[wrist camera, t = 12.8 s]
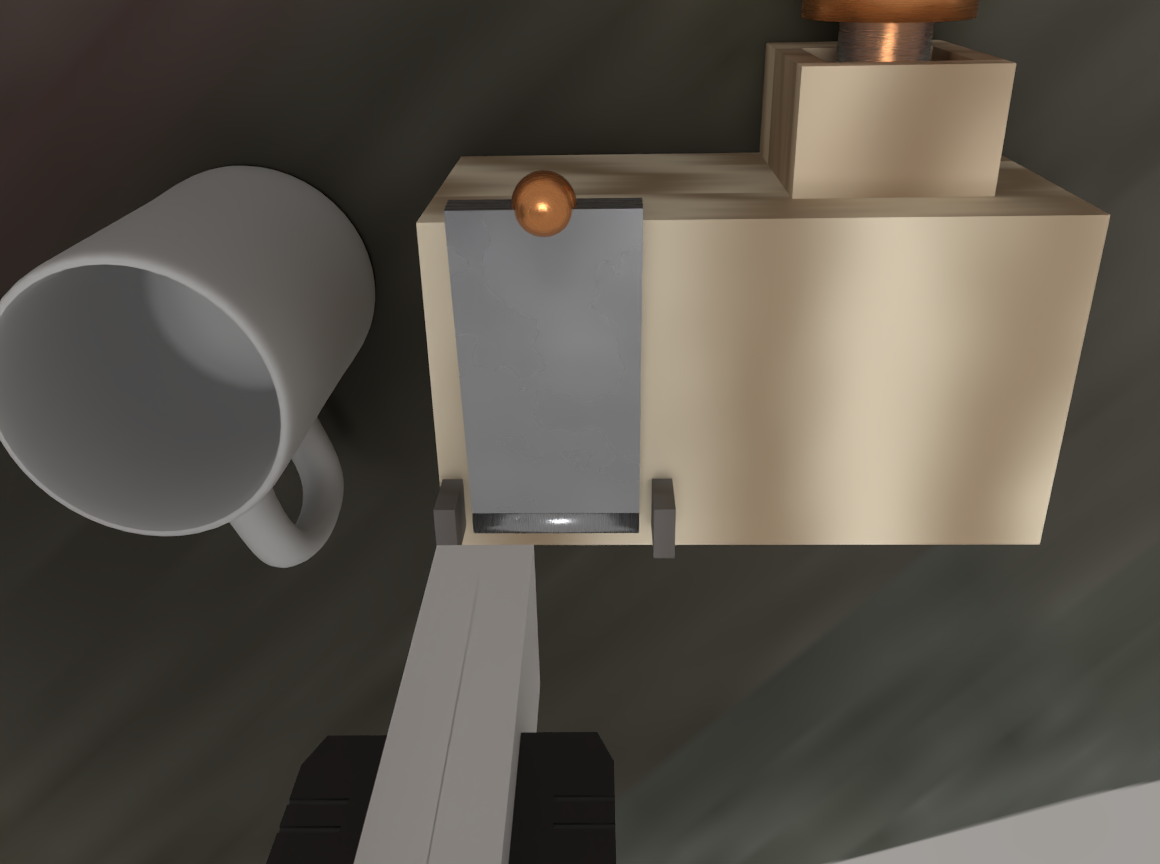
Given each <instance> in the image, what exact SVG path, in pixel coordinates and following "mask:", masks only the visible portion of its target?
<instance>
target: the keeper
mask: <svg viewBox="0 0 1160 864" xmlns="http://www.w3.org/2000/svg"><path fill="white" fill-rule="evenodd" d="M444 221H445V231H446V242H447V252H448V263H449V273H450V284H451V295H452V305H453V316H454V326H455V337H456V348H457V358H458V369H459V379H460V390H461V400H462V411H463V422H464V432H465V443H466V453H467V464H468V475H469V485H470V496H471V506H472V521H473V531H474V533H639V498H640V420H641V342H642V264H643V200H642V198H576V195H575V192H574V189H573V188H572V186H571V184H570V183H569V182H568V181H567V180H566V179H565V178H564V177H563V176H561V175H560V174H558V173H556V172H552V171H548V170H540V171H535V172H532V173H530V174H528V175H526V176H525V177H523V178H522V179H521V180H520V181H519V182H518V184H517V185H516V187H515V189H514V191H513V194H512V199H486V200H448V201H447V204H446V206H445V209H444Z"/></svg>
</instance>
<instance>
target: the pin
mask: <svg viewBox="0 0 1160 864" xmlns="http://www.w3.org/2000/svg"><path fill="white" fill-rule="evenodd" d="M978 3H979V0H802V8H801V18H804V19H810V20H819V21H833V22H839V33H838V45H837V56H836V63H841V62H904V61H929V60H930V52H931V44H932V36H933V28H934V22H944V21H958V20H967V19H973V18H976V17H977V10H978Z"/></svg>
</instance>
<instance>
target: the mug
mask: <svg viewBox="0 0 1160 864" xmlns="http://www.w3.org/2000/svg"><path fill="white" fill-rule="evenodd" d="M374 307H375V282H374V275H373V269H372V266H371V262H370V259H369V255H368V253H367V251H366V248H365V246H364V244H363V241H362V239H361V238H360V236H359V234H358V233H357V231H356V229H355V228H354V226H353V225H352V223H351V222H350V221H349V219H348V218H347V217H346V216H345V214H344V213H343V212H342V211H341V210H340V209H339V208H338V207H337V206H336V205H335V204H334V203H333V202H332V201H331V200H330V199H328V198H327V197H326V196H325V195H324V194H322V193H321V192H320V191H318V190H317V189H315V188H314V187H312V186H310V185H309V184H307V183H306V182H304V181H301V180H299V179H297V178H295V177H293V176H291V175H288V174H285V173H282V172H279V171H276V170H272V169H267V168H262V167H254V166H225V167H220V168H215V169H210V170H208V171H205V172H202V173H199V174H196V175H194V176H192V177H190V178H188V179H186V180H184V181H182V182H180V183H178V184H177V185H175V186H173V187H172V188H170V189H169V190H167V191H166V192H164V193H163V194H161V195H160V196H158V197H157V198H155V199H153V200H152V201H150V202H149V203H147V204H145V205H144V206H142V207H140V208H138V209H137V210H135V211H133V212H131V213H130V214H128V215H126V216H124V217H123V218H121V219H119V220H118V221H116V222H114V223H112V224H111V225H109V226H107V227H105V228H104V229H102V230H100V231H98V232H97V233H95V234H93V235H91V236H90V237H88V238H86V239H84V240H83V241H81V242H79V243H77V244H76V245H74V246H72V247H70V248H69V249H67V250H65V251H63V252H62V253H60V254H58V255H56V256H55V257H53V258H51V259H50V260H48V261H46V262H44V263H43V264H41V265H39V266H38V267H36V268H35V269H33V270H32V271H31V272H29V273H28V274H27V275H25V276H24V277H23V278H21V279H20V280H19V281H18V282H16V283H15V284H14V286H13V287H12V288H11V289H10V290H9V291H8V292H7V293H6V294H5V295H4V296H3V297H2V299H1V301H0V441H1V442H2V444H3V445H4V447H5V448H6V450H7V451H8V453H9V455H10V456H11V457H12V458H13V460H14V461H15V462H16V463H17V465H18V466H19V467H20V468H21V469H22V471H23V472H24V473H25V474H26V475H27V476H28V477H29V478H30V479H31V480H32V481H33V482H34V483H35V484H36V485H37V486H39V487H40V488H41V489H42V490H44V491H45V492H46V493H47V494H49V495H50V496H51V497H52V498H54V499H55V500H57V501H58V502H60V503H61V504H63V505H64V506H66V507H67V508H69V509H71V510H73V511H74V512H76V513H78V514H80V515H82V516H84V517H86V518H88V519H90V520H93V521H95V522H98V523H100V524H103V525H105V526H108V527H112V528H115V529H119V530H122V531H126V532H131V533H137V534H142V535H153V536H182V535H188V534H195V533H200V532H204V531H207V530H211V529H214V528H217V527H219V526H222V525H224V524H226V523H228V522H229V523H230V524H231V525H232V526H233V528H234V529H235V530H236V532H237V533H238V534H239V536H240V537H241V538H242V540H243V541H244V542H245V544H246V545H247V546H248V547H249V548H250V550H251V551H252V552H253V553H254V554H255V555H256V556H257V557H258V558H259V559H260V560H261V561H263V562H264V563H266V564H268V565H270V566H275V567H281V568H287V567H292V566H295V565H298V564H300V563H302V562H304V561H306V560H308V559H309V558H311V557H312V556H313V555H314V554H315V553H316V552H318V551H319V550H320V549H321V548H322V546H323V545H324V544H325V542H326V541H327V540H328V538H329V536H330V535H331V533H332V531H333V529H334V527H335V524H336V522H337V519H338V516H339V512H340V509H341V505H342V499H343V492H344V480H343V473H342V469H341V465H340V462H339V459H338V456H337V454H336V452H335V449H334V447H333V445H332V443H331V441H330V439H329V438H328V436H327V434H326V432H325V430H324V428H323V427H322V425H321V423H320V421H319V419H318V417H317V416H318V414H319V413H320V411H321V409H322V408H323V406H324V404H325V403H326V401H327V400H328V398H329V396H330V395H331V393H332V392H333V390H334V389H335V387H336V385H337V384H338V382H339V381H340V379H341V377H342V376H343V374H344V373H345V371H346V370H347V368H348V367H349V366H350V364H351V363H352V361H353V360H354V358H355V356H356V355H357V353H358V352H359V350H360V348H361V347H362V345H363V343H364V341H365V338H366V336H367V334H368V332H369V329H370V326H371V322H372V319H373V315H374ZM291 459H292V461H293V462H294V464H295V466H296V468H297V471H298V473H299V476H300V479H301V482H302V488H303V503H302V509H301V512H300V515H299V518H298V520H297V522H296V524H295V525H294V524H293V523H292V522H291V520H290V519H289V518H288V516H287V515H286V513H285V512H284V510H283V508H282V507H281V505H280V503H279V501H278V499H277V497H276V495H275V492H274V490H273V486H274V485H275V484H276V482H277V481H278V479H279V478H280V476H281V475H282V473H283V471H284V470H285V468H286V467H287V465H288V464H289V462H290V460H291Z"/></svg>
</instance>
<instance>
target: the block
mask: <svg viewBox="0 0 1160 864" xmlns="http://www.w3.org/2000/svg"><path fill="white" fill-rule="evenodd" d="M837 45H838V42H779V43H766V52H765V69H764V86H763V103H762V120H761V137H760V152H759V153H684V154H610V155H535V156H461V158H460V159H459V160H458V162H457V163H456V165H455V166H454V168H453V169H452V171H451V172H450V174H449V175H448V177H447V178H446V180H445V181H444V183H443V184H442V186H441V187H440V188H439V190H438V191H437V193H436V194H435V196H434V197H433V199H432V200H431V202H430V203H429V205H428V206H427V208H426V209H425V211H424V212H423V214H422V215H421V216H420V218H419V219H418V221H417V222H416V226H417V237H418V248H419V259H420V270H421V281H422V292H423V303H424V314H425V326H426V337H427V348H428V359H429V370H430V381H431V392H432V403H433V414H434V425H435V436H436V447H437V458H438V470H439V481H440V490H439V493H438V496H437V500H436V503H435V506H434V509H433V513H434V523H435V534H436V545H653V558H675V545H882V544H1040V540H1041V536H1042V531H1043V527H1044V522H1045V517H1046V513H1047V508H1048V503H1049V499H1050V494H1051V489H1052V485H1053V480H1054V475H1055V471H1056V466H1057V461H1058V457H1059V452H1060V447H1061V443H1062V438H1063V433H1064V429H1065V424H1066V419H1067V415H1068V410H1069V405H1070V401H1071V396H1072V391H1073V387H1074V382H1075V377H1076V373H1077V368H1078V363H1079V359H1080V354H1081V349H1082V345H1083V340H1084V335H1085V331H1086V326H1087V321H1088V317H1089V312H1090V307H1091V303H1092V298H1093V293H1094V289H1095V284H1096V279H1097V275H1098V270H1099V265H1100V261H1101V256H1102V251H1103V247H1104V242H1105V237H1106V233H1107V228H1108V223H1109V219H1110V214H1108V213H1106V212H1104V211H1102V210H1100V209H1099V208H1097V207H1095V206H1093V205H1091V204H1090V203H1088V202H1086V201H1084V200H1082V199H1081V198H1079V197H1077V196H1075V195H1073V194H1071V193H1070V192H1068V191H1066V190H1064V189H1062V188H1061V187H1059V186H1057V185H1055V184H1053V183H1052V182H1050V181H1048V180H1046V179H1044V178H1042V177H1041V176H1039V175H1037V174H1035V173H1033V172H1032V171H1030V170H1028V169H1026V168H1024V167H1023V166H1021V165H1019V164H1017V163H1015V162H1013V161H1012V160H1010V159H1008V158H1006V157H1004V156H1003V155H1001V154H1002V148H1003V142H1004V136H1005V130H1006V124H1007V117H1008V111H1009V105H1010V99H1011V93H1012V87H1013V80H1014V74H1015V68H1016V63H1014V62H1011V61H1008V60H1004V59H1001V58H998V57H995V56H991V55H988V54H985V53H982V52H978V51H975V50H972V49H968V48H965V47H962V46H959V45H955V44H952V43H949V42H946V41H942V40H932V44H931V52H930V60H929V61H904V62H841V63H836V56H837ZM540 170H548V171H552V172H556V173H558V174H560V175H561V176H563V177H564V178H565V179H566V180H567V181H568V182H569V183H570V184H571V186H572V188H573V189H574V192H575V195H576V198H642V200H643V264H642V342H641V420H640V498H639V533H474V531H473V521H472V506H471V496H470V485H469V475H468V464H467V453H466V443H465V432H464V422H463V411H462V400H461V390H460V379H459V369H458V358H457V348H456V337H455V326H454V316H453V305H452V295H451V284H450V273H449V263H448V252H447V242H446V231H445V221H444V209H445V206H446V204H447V201H448V200H486V199H512V194H513V191H514V189H515V187H516V185H517V184H518V182H519V181H520V180H521V179H522V178H523V177H525V176H526V175H528V174H530V173H532V172H535V171H540Z"/></svg>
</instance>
